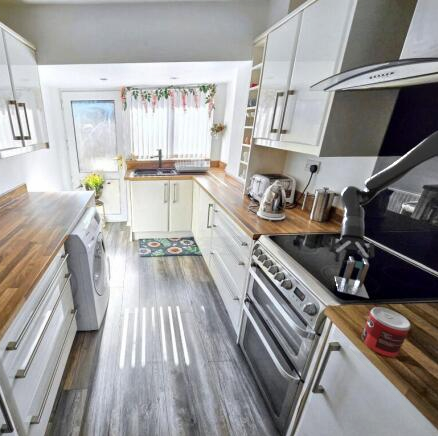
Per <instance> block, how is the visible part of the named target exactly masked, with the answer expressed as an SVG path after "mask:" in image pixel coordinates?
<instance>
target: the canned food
mask: <svg viewBox="0 0 438 436" xmlns="http://www.w3.org/2000/svg"><path fill="white" fill-rule="evenodd" d="M410 329H411V322H410V321H409V319H408V318H407V317H405V316H404V315H402V314H400V313H398V312H397V311H395V310H392V309H389V308H385V307H381V306H378V307H377V306H376V307H373V308H372V309H370V312H369V315H368V318H367V321H366V323H365V326H364V329H363V331H362V334H361V340H362V342H363V344H365V345H366V346H367V347H368V348H369V349H370V350H372V351H374V354H376V355H377V356H380V357H383V358H387V359H390V358H391V357H397V356H398V354H399V352H400V350H401V348H402V346H403V343H404V342H405V339H406V338H407V335H408V334H409V331H410Z"/></svg>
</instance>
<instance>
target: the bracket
mask: <svg viewBox="0 0 438 436" xmlns="http://www.w3.org/2000/svg"><path fill="white" fill-rule="evenodd" d="M355 261H356V260H355V258H354V256H349V257H348V260H347V264H346V267H345V270H344V273H343V276H342V277H341V276H338V275H334V280H335V285H336V288H337V292H339V293H344V294H349V295H351V296H352V295H353V296H356V297H361V298H363V299H370V297H369V295H368V294H369V293H368V292H367V290H366V287H365V285H364V282H365V278H366V275H367V273H368V270H369V267H370V264H369V261H368V262H367V260H366V259H363V260H362V259H361V262H363V266H362V269H361V268H358V269H359V270H358V273H357V276H356V277H355V278H356V279H352V278H351V276H352V273H353V270H354V268H355V267H354V264H355Z"/></svg>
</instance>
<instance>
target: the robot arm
mask: <svg viewBox="0 0 438 436" xmlns="http://www.w3.org/2000/svg"><path fill="white" fill-rule="evenodd" d="M434 158H438V130H437V131H435V132H433V133H432V134H430V135H429V136H427V137H426V138H424V139H423V140H422V141H420V143H418V144H417V145H416V146H415V147H413V148H412V149H410V150H409V151H408V152H406V153H405V154H404V155H402V156H401V157H400V158H399V159H397V160H396V161H394V162H393V163H391V164H390V165H388V166H386V167H385V168H383V169H382V170H380V171H378V172H377V173H374V174H373V175H372V176H370V177H368V178H367V179H366V180H364V183H363V184H364V186H365V188H364V189H360V188H359V187H357V186H354V185H349V186H346V187H344V189H342V191H341V193H340V202H341V207H342V210H343V211H342V212H343V213H342V221H341V226H340V227H341V229H340V237H339V238H336V237H335V236H333V237H332V238H331V239H330V246H329V250H328V251H329V252H331V253H333V254H334V257H333V260H334V261H335V263H339V262H340V257H341V253H340V252H342V251H343V250H345V251H346V252H353V253H357V254H358V255H360V257H361V261H362V260H363V259H366V260H367V262H368V263H369V259H373V258H374V257H375V243H374V242H371V243H366V242H365V241H364V240H365V210H364V207H362V206H364V205H366V204H368V203H369V202H371V201H372V200H373V198H375V197H376V196H377V195H378V194H380V193H381V192H382V191H384V190H386V189H388V188H391V186H393V185H395V184H397V183H398V182H400V181H401V180H402V179H404V178H405V177H406V176H407V175H408V174H409V173H411V171H413V170H414V169H415V168H417V167H419V166H420V165H421V164H423V163H425V162H428V161H429V160H432V159H434ZM337 243H339V245H340V246H339V247H338V248H335V247H336V244H337ZM364 247H365V248H366V250H367V252H366V250H365V249H364Z"/></svg>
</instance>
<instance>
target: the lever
mask: <svg viewBox="0 0 438 436" xmlns="http://www.w3.org/2000/svg"><path fill="white" fill-rule="evenodd" d="M347 261H348V260H346V259H342V261H341V263H342V264H344V265H347ZM354 261H355V264H354V267H353V268H356V269H360V268H361V269H362V266H363V262H362V261H357V260H354Z"/></svg>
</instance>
